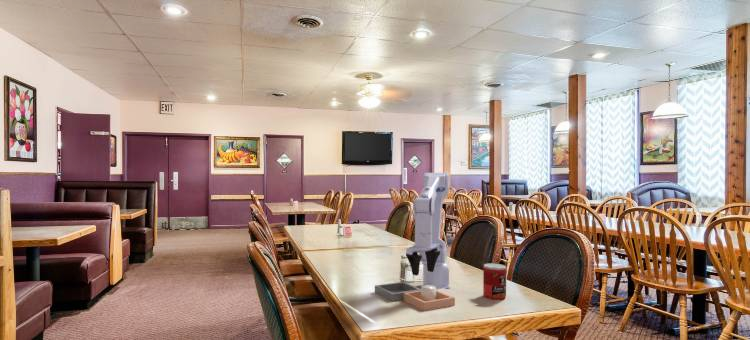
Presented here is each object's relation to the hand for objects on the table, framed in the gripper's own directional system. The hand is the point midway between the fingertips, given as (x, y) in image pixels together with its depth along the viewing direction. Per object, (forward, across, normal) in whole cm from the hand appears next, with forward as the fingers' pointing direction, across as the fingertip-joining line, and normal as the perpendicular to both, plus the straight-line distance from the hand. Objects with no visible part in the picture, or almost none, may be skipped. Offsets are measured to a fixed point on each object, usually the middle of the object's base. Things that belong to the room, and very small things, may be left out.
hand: (423, 273), depth 143 cm
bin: (+9, +3, -9) cm, 13 cm away
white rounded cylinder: (+9, +2, +4) cm, 10 cm away
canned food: (+10, -23, +13) cm, 28 cm away
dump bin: (+9, +2, +4) cm, 10 cm away
